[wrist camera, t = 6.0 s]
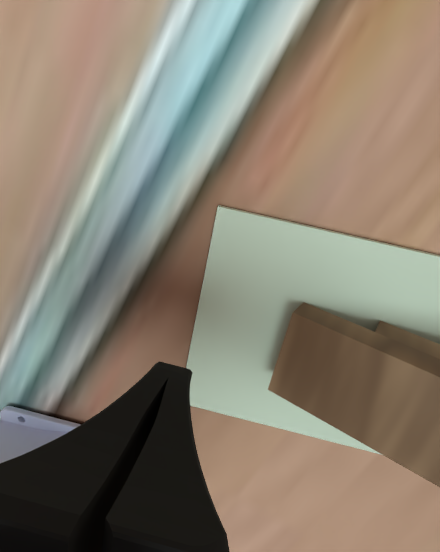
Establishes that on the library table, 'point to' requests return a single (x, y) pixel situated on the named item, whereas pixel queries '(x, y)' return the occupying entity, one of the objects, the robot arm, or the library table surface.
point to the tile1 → (363, 387)
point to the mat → (294, 308)
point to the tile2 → (409, 339)
